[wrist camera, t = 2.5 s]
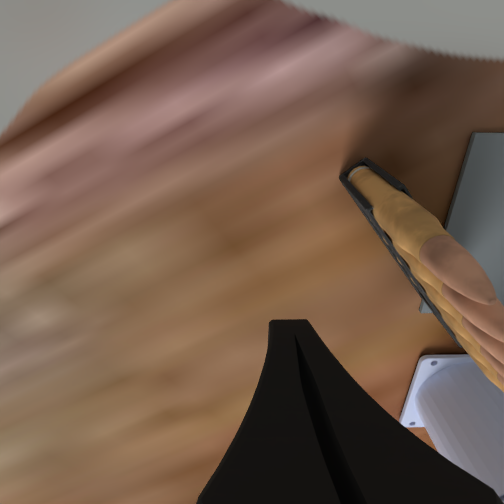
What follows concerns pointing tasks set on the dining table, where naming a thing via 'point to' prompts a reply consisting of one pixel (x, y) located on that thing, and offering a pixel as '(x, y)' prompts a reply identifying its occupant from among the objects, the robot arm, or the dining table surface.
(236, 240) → the dining table surface
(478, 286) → the ammunition clip
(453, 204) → the mat
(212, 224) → the dining table surface
